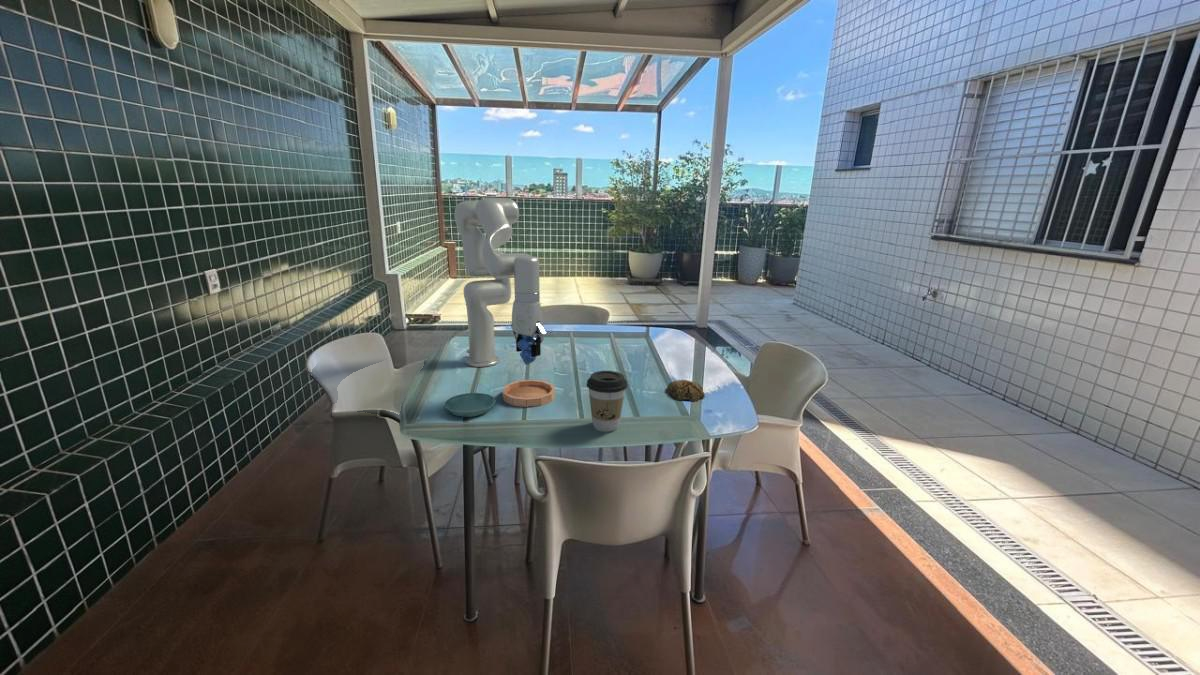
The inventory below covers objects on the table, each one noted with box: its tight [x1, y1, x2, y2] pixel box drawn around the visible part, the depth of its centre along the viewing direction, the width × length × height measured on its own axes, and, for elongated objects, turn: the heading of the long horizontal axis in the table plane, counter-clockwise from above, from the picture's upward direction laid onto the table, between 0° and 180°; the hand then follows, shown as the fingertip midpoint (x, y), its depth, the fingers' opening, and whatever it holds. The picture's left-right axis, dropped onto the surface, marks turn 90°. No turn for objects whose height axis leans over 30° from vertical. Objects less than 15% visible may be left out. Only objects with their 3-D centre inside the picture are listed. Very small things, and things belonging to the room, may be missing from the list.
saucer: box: [444, 392, 496, 418], centre depth 145 cm, size 15×15×3 cm
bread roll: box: [666, 379, 706, 402], centre depth 160 cm, size 13×12×5 cm
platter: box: [502, 379, 556, 408], centre depth 156 cm, size 16×16×2 cm
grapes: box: [517, 333, 537, 366], centre depth 151 cm, size 12×7×12 cm, turn 166°
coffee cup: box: [586, 370, 629, 433], centre depth 134 cm, size 11×11×15 cm
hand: (528, 352), depth 152 cm, fingers closed on grapes, 6 cm apart
